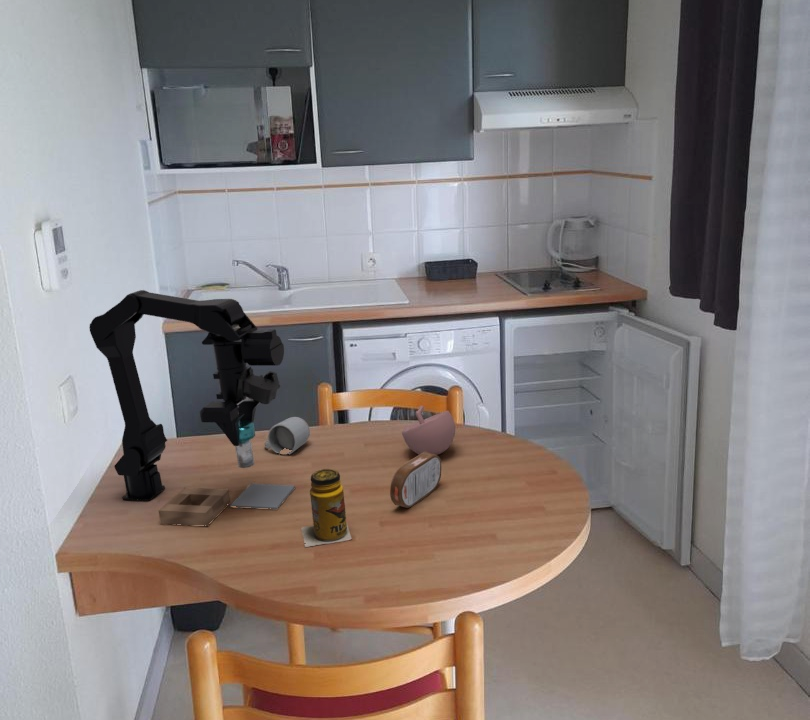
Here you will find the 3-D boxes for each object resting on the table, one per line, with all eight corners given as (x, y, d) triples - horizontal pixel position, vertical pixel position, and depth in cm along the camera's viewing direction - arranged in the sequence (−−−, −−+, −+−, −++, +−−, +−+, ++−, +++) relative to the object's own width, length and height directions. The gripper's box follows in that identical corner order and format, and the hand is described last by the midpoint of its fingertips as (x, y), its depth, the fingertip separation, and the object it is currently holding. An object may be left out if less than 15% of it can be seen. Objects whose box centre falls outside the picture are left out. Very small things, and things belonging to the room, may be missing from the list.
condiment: (352, 539, 135) (346, 479, 131) (305, 548, 133) (298, 486, 130) (346, 521, 142) (340, 463, 138) (301, 529, 140) (294, 470, 137)
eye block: (160, 524, 145) (158, 510, 144) (186, 500, 155) (184, 487, 154) (207, 527, 143) (205, 512, 142) (230, 503, 152) (228, 489, 151)
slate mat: (230, 507, 150) (230, 505, 150) (251, 486, 160) (251, 483, 159) (277, 510, 148) (276, 507, 148) (295, 488, 157) (295, 485, 157)
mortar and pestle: (423, 440, 178) (420, 395, 175) (466, 449, 171) (464, 402, 168) (393, 458, 169) (389, 410, 166) (437, 468, 162) (434, 419, 159)
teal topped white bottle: (252, 470, 147) (246, 430, 145) (228, 469, 148) (222, 429, 146) (263, 459, 152) (258, 420, 150) (240, 459, 153) (234, 420, 151)
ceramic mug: (313, 443, 181) (310, 413, 179) (297, 457, 173) (293, 425, 171) (275, 441, 184) (271, 411, 182) (258, 453, 177) (253, 423, 175)
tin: (432, 482, 156) (430, 444, 153) (445, 485, 154) (443, 447, 152) (390, 512, 144) (386, 472, 142) (403, 516, 142) (400, 475, 140)
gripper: (248, 379, 134) (259, 460, 138) (288, 351, 151) (298, 424, 155) (192, 380, 137) (205, 458, 141) (238, 352, 154) (249, 423, 158)
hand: (242, 440), depth 149 cm, fingers closed on teal topped white bottle, 5 cm apart
